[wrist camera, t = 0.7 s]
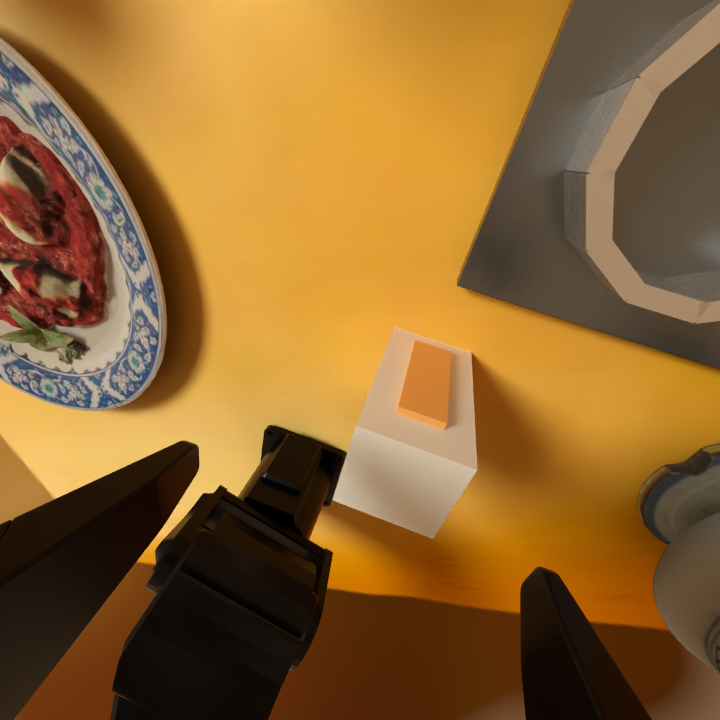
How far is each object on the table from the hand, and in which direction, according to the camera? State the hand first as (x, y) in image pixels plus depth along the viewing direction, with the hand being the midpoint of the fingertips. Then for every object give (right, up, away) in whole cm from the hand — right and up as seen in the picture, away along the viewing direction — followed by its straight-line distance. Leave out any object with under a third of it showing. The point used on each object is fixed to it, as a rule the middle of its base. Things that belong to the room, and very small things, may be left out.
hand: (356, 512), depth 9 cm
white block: (+4, +3, +12) cm, 13 cm away
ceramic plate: (-24, +12, +16) cm, 31 cm away
